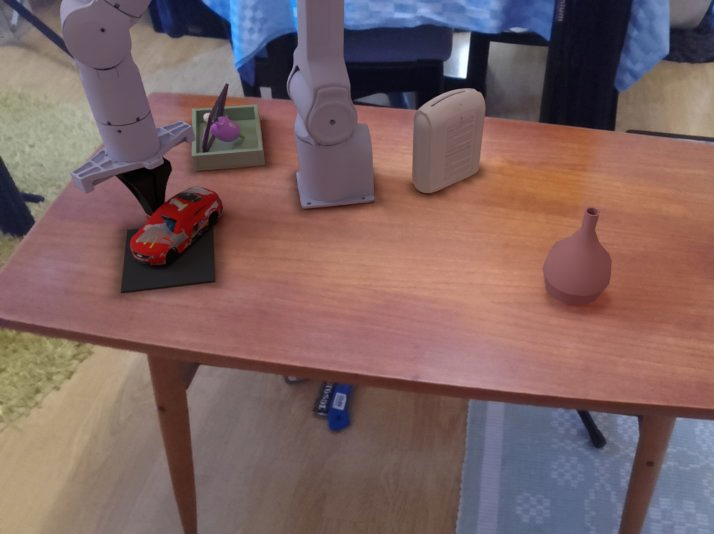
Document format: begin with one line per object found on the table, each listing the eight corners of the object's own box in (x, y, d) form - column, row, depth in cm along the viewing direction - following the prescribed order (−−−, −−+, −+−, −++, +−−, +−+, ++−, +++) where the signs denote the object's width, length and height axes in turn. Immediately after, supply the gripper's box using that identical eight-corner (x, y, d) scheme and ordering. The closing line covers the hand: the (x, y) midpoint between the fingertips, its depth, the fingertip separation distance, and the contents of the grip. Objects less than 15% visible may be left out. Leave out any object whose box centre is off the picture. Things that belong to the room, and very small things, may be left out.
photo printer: (462, 158, 97) (469, 75, 88) (483, 172, 95) (492, 89, 86) (407, 183, 93) (408, 99, 83) (427, 199, 91) (430, 114, 81)
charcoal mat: (213, 222, 85) (212, 220, 85) (214, 281, 78) (214, 280, 78) (127, 230, 83) (127, 229, 83) (121, 292, 76) (120, 291, 76)
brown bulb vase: (533, 271, 82) (550, 189, 73) (595, 271, 83) (619, 189, 74) (544, 318, 77) (563, 235, 68) (610, 317, 78) (637, 235, 69)
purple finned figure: (220, 80, 94) (202, 114, 88) (258, 94, 96) (242, 128, 90) (213, 120, 99) (196, 155, 93) (249, 133, 100) (234, 168, 94)
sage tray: (260, 118, 101) (257, 104, 100) (265, 165, 94) (262, 150, 92) (195, 123, 100) (191, 108, 98) (195, 171, 92) (191, 155, 90)
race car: (160, 275, 78) (151, 249, 75) (123, 260, 79) (112, 233, 76) (232, 212, 86) (226, 186, 83) (197, 200, 87) (190, 173, 84)
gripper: (83, 154, 68) (123, 257, 78) (201, 100, 76) (224, 200, 86) (42, 128, 70) (86, 231, 80) (161, 78, 79) (187, 178, 89)
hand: (155, 213), depth 83 cm, fingers closed
